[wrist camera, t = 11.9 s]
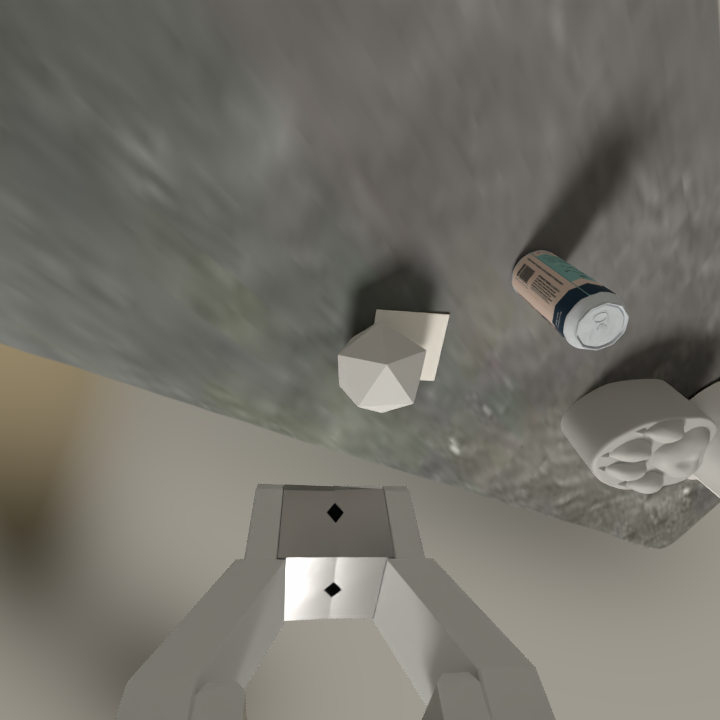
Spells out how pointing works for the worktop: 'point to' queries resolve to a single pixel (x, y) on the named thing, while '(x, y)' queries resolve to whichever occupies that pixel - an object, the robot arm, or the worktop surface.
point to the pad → (419, 333)
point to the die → (381, 368)
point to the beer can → (570, 300)
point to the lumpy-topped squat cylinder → (638, 434)
